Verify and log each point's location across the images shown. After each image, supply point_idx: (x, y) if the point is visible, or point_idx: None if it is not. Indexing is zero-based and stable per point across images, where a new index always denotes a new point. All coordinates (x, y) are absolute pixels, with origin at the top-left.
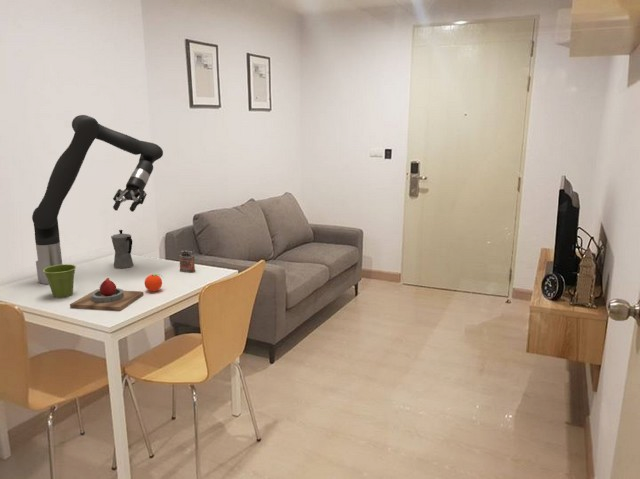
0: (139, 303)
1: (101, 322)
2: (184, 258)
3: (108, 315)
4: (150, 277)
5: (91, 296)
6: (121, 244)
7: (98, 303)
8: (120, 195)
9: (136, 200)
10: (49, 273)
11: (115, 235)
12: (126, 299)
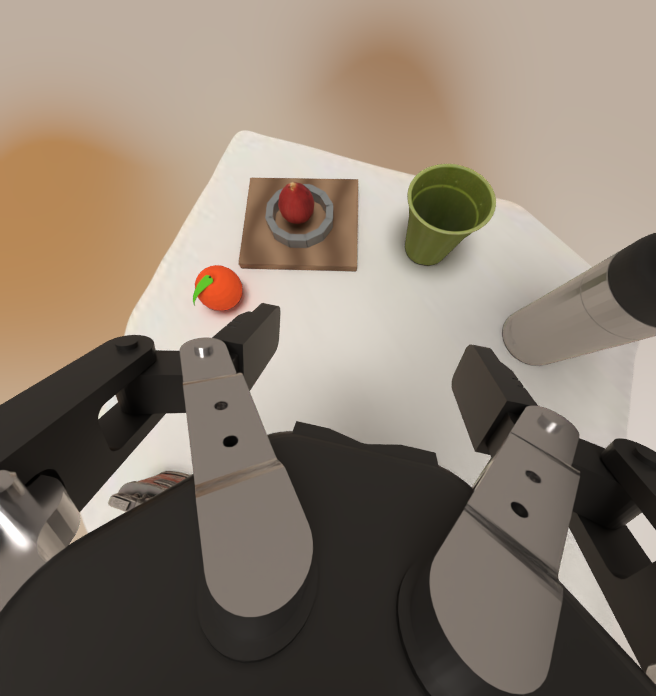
0: (231, 223)
1: (262, 139)
2: (160, 487)
3: (264, 165)
4: (214, 267)
5: (324, 192)
6: None
7: None
8: (559, 467)
9: (181, 365)
10: (449, 165)
11: None
12: (255, 215)
